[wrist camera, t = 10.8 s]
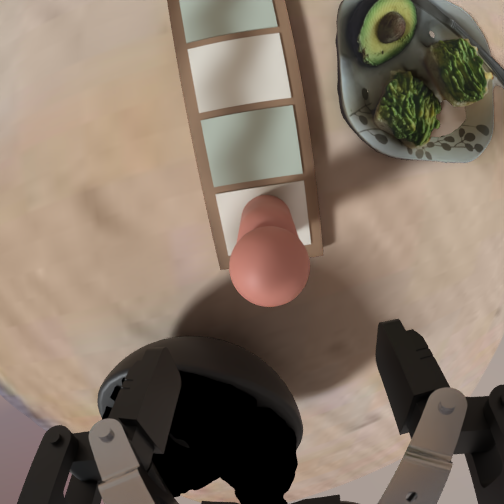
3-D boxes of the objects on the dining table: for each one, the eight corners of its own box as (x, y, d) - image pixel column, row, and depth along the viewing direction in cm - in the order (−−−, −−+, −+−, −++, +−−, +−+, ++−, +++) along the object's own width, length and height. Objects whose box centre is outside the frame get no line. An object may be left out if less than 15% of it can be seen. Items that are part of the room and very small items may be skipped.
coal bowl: (97, 322, 32) (21, 450, 15) (256, 267, 29) (247, 458, 12) (181, 422, 40) (158, 534, 23) (315, 394, 36) (332, 529, 19)
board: (274, -32, 17) (274, -41, 16) (320, 248, 28) (323, 256, 26) (169, -13, 18) (163, -19, 16) (222, 262, 29) (220, 270, 27)
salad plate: (496, 19, 16) (522, 14, 12) (499, 173, 24) (526, 184, 20) (328, -33, 17) (339, -55, 13) (333, 152, 24) (347, 159, 20)
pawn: (290, 188, 24) (312, 238, 14) (296, 240, 26) (318, 316, 16) (234, 196, 24) (217, 251, 14) (243, 248, 26) (234, 327, 16)
